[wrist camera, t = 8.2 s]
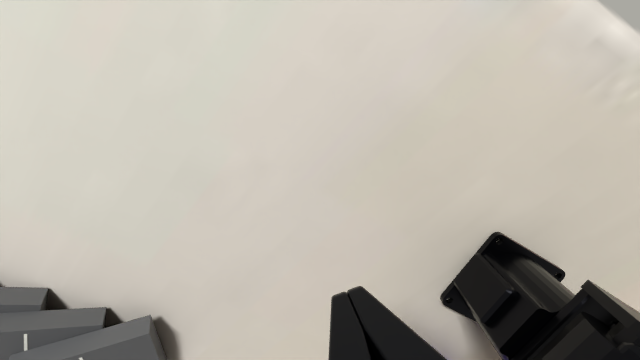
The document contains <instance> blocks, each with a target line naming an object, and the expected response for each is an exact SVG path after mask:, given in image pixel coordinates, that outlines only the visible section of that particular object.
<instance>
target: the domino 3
mask: <svg viewBox="0 0 640 360" xmlns="http://www.w3.org/2000/svg"><path fill="white" fill-rule="evenodd" d="M9 360H167V358H166V356H165V353H164V350H163V347H162V345H161V342H160V339H159V337H158V334H157V331H156V328H155V326H154V323H153V320H152V317H151V315H149V316H145V317H142V318H138V319H135V320H131V321H128V322H124V323H121V324H117V325H114V326H110V327H107V328H103V329H100V330H96V331H93V332H89V333H86V334H82V335H79V336H75V337H72V338H68V339H65V340H61V341H58V342H54V343H51V344H47V345H44V346H40V347H37V348H33V349H30V350H26V351H23V352H19V353H16V354H12V355H10V357H9Z"/></svg>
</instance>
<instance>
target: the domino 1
mask: <svg viewBox="0 0 640 360" xmlns="http://www.w3.org/2000/svg"><path fill="white" fill-rule="evenodd" d="M47 294H48V288H25V287H0V313H6V312H25V311H44V310H45V308H46V301H47Z"/></svg>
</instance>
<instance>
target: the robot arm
mask: <svg viewBox="0 0 640 360" xmlns="http://www.w3.org/2000/svg"><path fill="white" fill-rule="evenodd" d="M498 238H500V240H499V241H497V242H496V240H497V239H498ZM556 274H557V275H556ZM564 277H565V272H564V271H563V270H562V269H560V268H559V267H558V266H556V265H554V264H553V263H551V262H549V261H548V260H546V259H544V258H542V257H541V256H539V255H537V254H536V253H534V252H532V251H531V250H529V249H527V248H526V247H524V246H522V245H521V244H519V243H517V242H516V241H514V240H512V239H511V238H509V237H507V236H506V235H504V234H502V233H500V232H495V233H493V234H492V235H491V236H490V237H489V238H488V239H487V240H486V242H485V243H484V244H483V245H482V246H481V248H480V249H479V250H478V251H477V252H476V254H475V255H474V256H473V257H472V258H471V260H470V261H469V262H468V263H467V264H466V266H465V267H464V268H463V269H462V270H461V272H460V273H459V274H458V275H457V276H456V278H455V279H454V280H453V281H452V283H451V284H450V285H449V286H448V287H447V289H446V290H445V291H444V292H443V293H442V295H441V301H442V302H443V304H444V305H445V306H447V307H449V308H451V309H453V310H455V311H457V312H459V313H461V314H463V315H465V316H466V317H468V318H470V319H472V320H474V321H476V322H478V324H479V325H480V327H481V328H482V330H483V331H484V333H485V334H486V336H487V337H488V339H489V340H490V342H491V343H492V345H493V346H494V348H495V349H496V351H497V352H498V354H499V355H500V357H501V358H502V360H640V313H639V312H638V311H636V310H635V309H633V308H631V307H630V306H628V305H627V304H625V303H624V302H622V301H621V300H619V299H617V298H616V297H614V296H613V295H611V294H610V293H608V292H606V291H605V290H603V289H602V288H600V287H599V286H597V285H596V284H594V283H592V282H591V281H589V280H587V281H586V282H585V283H584V284H583V285H582V286H581V288H582V289H581V290H580V291H579V292H578V293H577V294H576V295H574V294H573V293H572V292H571V291H570V290H568V289H567V288H566V287H565V286H564V285H562V284H561V283H560V282H561V281H562V280H563V279H564ZM447 298H450V299H448V300H446V299H447ZM329 360H447V359H445V358H444V357H443V356H442V355H441V354H440V353H438V352H437V351H436V350H435V349H434V348H433V347H432V346H430V345H429V344H428V343H427V342H426V341H425V340H423V339H422V338H421V337H420V336H419V335H418V334H416V333H415V332H414V331H413V330H412V329H411V328H410V327H408V326H407V325H406V324H405V323H404V322H403V321H401V320H400V319H399V318H398V317H397V316H396V315H394V314H393V313H392V312H391V311H390V310H389V309H388V308H386V307H385V306H384V305H383V304H382V303H381V302H379V301H378V300H377V299H376V298H375V297H374V296H372V295H371V294H370V293H369V292H368V291H367V290H366V289H364V288H363V287H361V286H358V287H355V288H352V289H350V290H348V291H347V293H346V292H341V293H339V294H336V295H334V296H332V300H331V321H330V342H329Z"/></svg>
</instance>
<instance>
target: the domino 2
mask: <svg viewBox="0 0 640 360" xmlns="http://www.w3.org/2000/svg"><path fill="white" fill-rule="evenodd" d="M105 316H106V307H102V308H83V309H64V310H44V311H25V312H6V313H0V360H9V357H10V355H12V354H16V353H19V352H23V351H26V350H30V349H33V348H37V347H40V346H44V345H47V344H51V343H54V342H58V341H61V340H65V339H68V338H72V337H75V336H79V335H82V334H86V333H89V332H93V331H96V330H100V329H103V328H104V327H105Z"/></svg>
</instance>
